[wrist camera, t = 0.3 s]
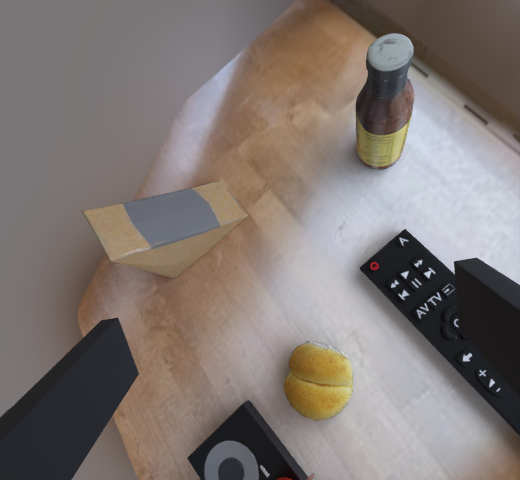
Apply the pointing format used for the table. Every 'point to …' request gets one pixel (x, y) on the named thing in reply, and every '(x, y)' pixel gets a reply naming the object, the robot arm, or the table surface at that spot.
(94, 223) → the sandwich container
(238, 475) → the burner rings
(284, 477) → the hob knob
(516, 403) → the remote control
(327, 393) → the bread roll
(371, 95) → the sauce bottle
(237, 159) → the table surface
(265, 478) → the hob
